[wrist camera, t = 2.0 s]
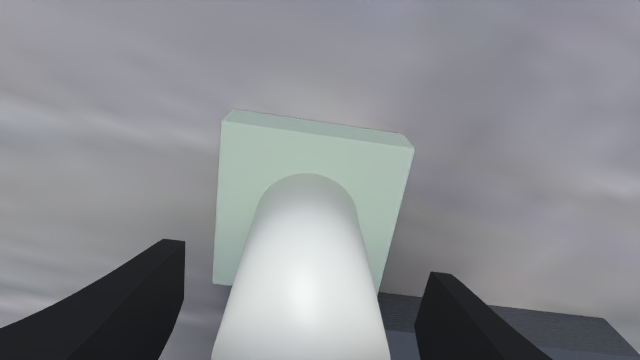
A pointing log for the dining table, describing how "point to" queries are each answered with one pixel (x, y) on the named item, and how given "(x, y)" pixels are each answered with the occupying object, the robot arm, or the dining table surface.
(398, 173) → the pale green block
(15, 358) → the robot arm
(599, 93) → the dining table surface
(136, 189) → the dining table surface
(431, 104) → the dining table surface
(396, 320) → the hole plate
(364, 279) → the barrel peg
